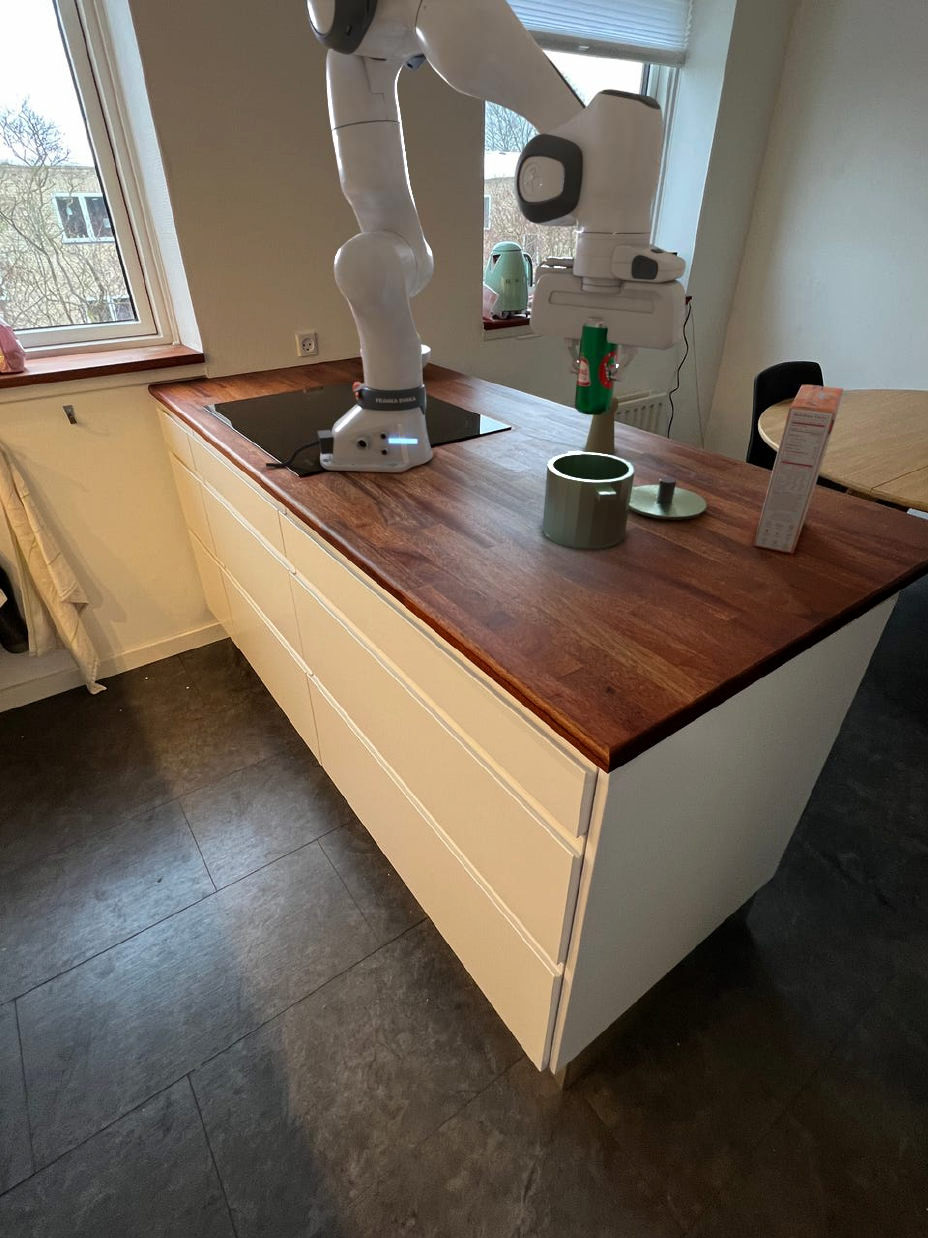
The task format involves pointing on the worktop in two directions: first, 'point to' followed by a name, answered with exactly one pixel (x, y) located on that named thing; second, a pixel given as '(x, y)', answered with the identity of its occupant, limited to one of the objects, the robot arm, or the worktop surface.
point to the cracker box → (797, 466)
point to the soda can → (595, 369)
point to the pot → (587, 499)
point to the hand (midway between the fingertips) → (596, 377)
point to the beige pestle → (602, 431)
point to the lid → (666, 501)
